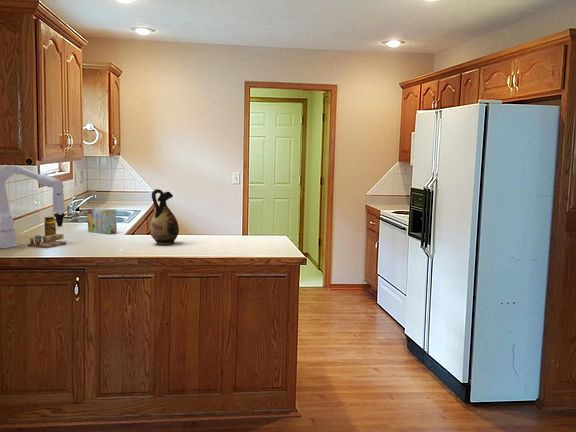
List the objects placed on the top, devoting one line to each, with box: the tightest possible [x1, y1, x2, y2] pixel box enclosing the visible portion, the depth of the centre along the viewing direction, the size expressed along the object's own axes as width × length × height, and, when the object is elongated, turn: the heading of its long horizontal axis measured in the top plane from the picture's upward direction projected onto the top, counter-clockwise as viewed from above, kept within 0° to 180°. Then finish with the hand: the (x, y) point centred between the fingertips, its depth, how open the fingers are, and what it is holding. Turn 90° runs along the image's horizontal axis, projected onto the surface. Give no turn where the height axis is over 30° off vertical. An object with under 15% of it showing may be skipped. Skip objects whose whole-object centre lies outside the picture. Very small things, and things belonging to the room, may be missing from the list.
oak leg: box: [44, 233, 65, 242], centre depth 317 cm, size 10×5×2 cm, turn 156°
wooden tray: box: [27, 235, 67, 249], centre depth 308 cm, size 13×14×4 cm
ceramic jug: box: [149, 188, 180, 246], centre depth 309 cm, size 17×15×30 cm
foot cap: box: [34, 235, 43, 243], centre depth 316 cm, size 3×3×4 cm
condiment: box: [41, 216, 57, 240], centre depth 336 cm, size 7×8×12 cm
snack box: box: [86, 207, 118, 235], centre depth 354 cm, size 21×6×15 cm, turn 58°
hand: (59, 226), depth 315 cm, fingers closed
